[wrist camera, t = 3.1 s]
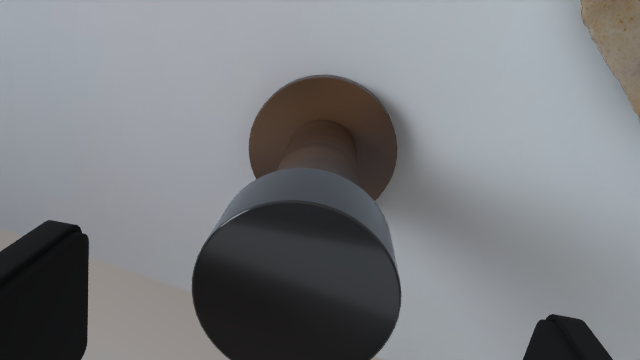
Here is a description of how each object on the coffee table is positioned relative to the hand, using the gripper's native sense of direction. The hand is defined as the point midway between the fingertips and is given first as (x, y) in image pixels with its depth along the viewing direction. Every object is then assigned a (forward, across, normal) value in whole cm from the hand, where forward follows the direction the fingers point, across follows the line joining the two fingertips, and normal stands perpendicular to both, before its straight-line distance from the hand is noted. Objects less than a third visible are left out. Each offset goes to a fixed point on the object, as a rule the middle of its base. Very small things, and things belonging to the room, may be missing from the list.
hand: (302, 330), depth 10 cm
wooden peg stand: (+14, 0, 0) cm, 15 cm away
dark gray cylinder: (+4, 0, 0) cm, 4 cm away
